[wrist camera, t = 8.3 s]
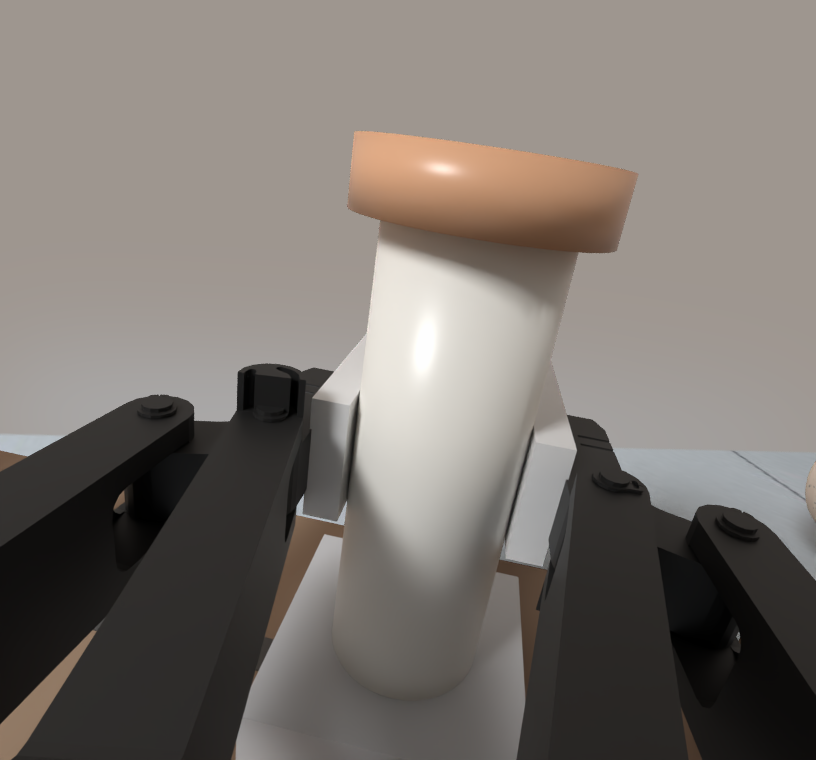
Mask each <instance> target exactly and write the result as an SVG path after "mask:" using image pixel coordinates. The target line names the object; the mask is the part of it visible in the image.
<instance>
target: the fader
mask: <svg viewBox="0 0 816 760" xmlns="http://www.w3.org/2000/svg"><path fill="white" fill-rule="evenodd" d="M637 177H638V174H637V173H635V172H632V171H627V170H623V169H619V168H614V167H609V166H604V165H600V164H594V163H589V162H583V161H578V160H572V159H566V158H560V157H554V156H549V155H542V154H536V153H530V152H524V151H517V150H511V149H504V148H498V147H490V146H483V145H477V144H470V143H463V142H456V141H448V140H441V139H433V138H425V137H417V136H409V135H400V134H390V133H380V132H369V131H356V132H354V141H353V151H352V162H351V173H350V183H349V194H348V204H347V207H348V209H350V210H352V211H354V212H356V213H359V214H362V215H364V216H368V217H371V218H375V219H378V220H380V227H379V236H378V245H377V253H376V261H375V270H374V278H373V287H372V295H371V303H370V312H369V321H368V329H367V337H366V346H365V354H364V363H363V371H362V380H361V388H360V397H359V405H358V414H357V422H356V431H355V439H354V448H353V456H352V465H351V473H350V482H349V490H348V499H347V507H346V516H345V524H344V533H343V538H339V537H335V536H330V535H326V534H324V536H323V538H322V540H321V542H320V544H319V546H318V548H317V550H316V552H315V555H314V557H313V559H312V561H311V563H310V565H309V567H308V569H307V571H306V573H305V575H304V577H303V580H302V582H301V584H300V586H299V588H298V590H297V592H296V594H295V596H294V598H293V600H292V602H291V605H290V607H289V609H288V611H287V613H286V615H285V617H284V619H283V621H282V623H281V625H280V627H279V630H278V632H277V634H276V636H275V638H274V640H273V642H272V644H271V646H270V648H269V650H268V652H267V655H266V657H265V659H264V661H263V663H262V665H261V667H260V669H259V671H258V673H257V675H256V677H255V679H254V682H253V684H252V686H251V688H250V692H249V696H248V699H247V703H246V707H245V710H244V714H243V718H242V721H241V725H240V729H239V732H238V736H237V740H236V760H516V759H517V752H518V746H519V740H520V733H521V727H522V721H523V714H524V708H525V685H524V667H523V650H522V632H521V614H520V596H519V579H518V577H516V576H512V575H507V574H502V573H498V572H496V570H497V567H498V563H499V559H500V555H501V551H502V547H503V543H504V539H505V535H506V531H507V527H508V523H509V519H510V515H511V512H512V508H513V504H514V500H515V496H516V492H517V488H518V484H519V481H520V477H521V473H522V469H523V465H524V461H525V457H526V453H527V450H528V446H529V442H530V438H531V434H532V430H533V426H534V423H535V419H536V415H537V411H538V408H539V404H540V400H541V396H542V392H543V388H544V384H545V380H546V377H547V373H548V369H549V365H550V361H551V357H552V353H553V349H554V345H555V342H556V337H557V334H558V330H559V326H560V322H561V318H562V314H563V311H564V307H565V303H566V299H567V295H568V291H569V287H570V283H571V280H572V276H573V272H574V268H575V264H576V260H577V256H578V252H582V253H610V252H615V251H617V247H618V244H619V241H620V237H621V234H622V230H623V226H624V223H625V219H626V216H627V213H628V209H629V205H630V202H631V198H632V195H633V191H634V188H635V184H636V181H637Z"/></svg>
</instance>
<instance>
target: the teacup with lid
mask: <svg viewBox="0 0 816 760" xmlns="http://www.w3.org/2000/svg"><path fill="white" fill-rule="evenodd" d="M805 496H806V503H807V507H808V510H809V512H810V514H811V516H812V518H813V519H814V521H815V522H816V461H815V463H814V465H813V466H812V468H811V470H810V472H809V475H808V478H807V483H806V490H805Z"/></svg>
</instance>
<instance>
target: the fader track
mask: <svg viewBox="0 0 816 760" xmlns="http://www.w3.org/2000/svg"><path fill="white" fill-rule="evenodd" d="M26 457H27V456H22V455H18V454H13V453H9V452H4V451H0V472H1V471H2V470H4V469H6V468H8V467H10V466H12V465H13V464H15V463H17V462H19V461H21V460H23V459H24V458H26ZM124 502H125V497H124V491H123V492H122V493H121V494H120V495H119V497H118V499H117V501H116V503H115V505H114V509H116V508H117V507H119V506H120V505H121V504H122V503H124ZM343 533H344V526H343V525H338V524H334V523H329V522H325V521H320V520H316V519H311V518H306V517H302V516H297V515H296V520H295V527H294V531H293V535H292V538H291V542H290V546H289V549H288V553H287V557H286V560H285V564H284V567H283V571H282V575H281V578H280V582H279V586H278V589H277V593H276V597H275V600H274V604H273V608H272V611H271V615H270V619H269V622H268V626H267V630H266V633H265V637H264V641H263V644H262V648H261V652H260V655H259V659H258V663H257V666H256V670H255V674H254V677H253V681H252V684H253V682H254V679H255V677H256V675H257V673H258V671H259V669H260V667H261V665H262V663H263V661H264V659H265V657H266V655H267V652H268V650H269V648H270V646H271V644H272V642H273V640H274V638H275V636H276V634H277V632H278V630H279V627H280V625H281V623H282V621H283V619H284V617H285V615H286V613H287V611H288V609H289V607H290V605H291V602H292V600H293V598H294V596H295V594H296V592H297V590H298V588H299V586H300V584H301V582H302V580H303V577H304V575H305V573H306V571H307V569H308V567H309V565H310V563H311V561H312V559H313V557H314V555H315V552H316V550H317V548H318V546H319V544H320V542H321V540H322V538H323V536H324V534H326V535H330V536H335V537H339V538H343ZM496 572H498V573H502V574H507V575H512V576H516V577H518V579H519V596H520V614H521V632H522V650H523V667H524V685H525V702H526V695H527V689H528V682H529V676H530V670H531V663H532V657H533V651H534V644H535V638H536V631H537V625H538V619H539V612H540V611H538V610H536V607H537V603H538V600H539V597H540V593H541V590H542V587H543V583H544V580H545V577H546V574H547V570H545V569H540V568H536V567H531V566H526V565H522V564H517V563H513V562H508V561H503V560H499V563H498V567H497V570H496ZM104 619H105V618H104ZM104 619H103V620H102V621H101V622H100V623H99V624H98V625H97V626H96V627H95V628H94V629H93V630H92V631H91V632H90V633H89V634H88V635H87V636H86V637H85V638H84V639H83V641H82V642H81V643H80V644H79V645H78V646H77V647H76V648H75V649H74V650H73V651H72V652H71V653H70V654H69V655H68V656H67V657H66V658H65V659H64V660H63V661H62V662H61V663H60V664H59V665H58V666H57V667H56V668H55V669H54V670H53V671H52V672H51V673H50V674H49V675H48V676H47V677H46V678H45V679H44V680H43V681H42V682H41V683H40V684H39V685H38V686H37V687H36V688H35V689H34V690H33V691H32V693H31V694H30V695H29V696H28V697H27V698H26V699H25V700H24V701H23V702H22V703H21V704H20V705H19V706H18V707H17V708H16V709H15V710H14V711H13V712H12V713H11V714H10V715H9V716H8V717H7V718H6V719H5V720H4V721H3V722H2V723H1V724H0V760H11V759H12V758H14V757H15V756H16V755H17V754H18V752H19V751H20V750H21V749H22V747H23V746H24V745H25V743H26V742H27V740H28V739H29V737H30V736H31V734H32V733H33V731H34V729H35V728H36V726H37V725H38V723H39V722H40V720H41V718H42V717H43V715H44V714H45V712H46V710H47V709H48V707H49V706H50V704H51V703H52V701H53V699H54V698H55V696H56V695H57V693H58V692H59V690H60V688H61V687H62V685H63V684H64V682H65V681H66V679H67V677H68V676H69V674H70V673H71V671H72V669H73V668H74V666H75V665H76V663H77V662H78V660H79V658H80V657H81V655H82V654H83V652H84V651H85V649H86V647H87V646H88V644H89V643H90V641H91V639H92V638H93V636H94V635H95V633H96V632H97V630H98V628H99V627H100V625H101V624H102V622H103V621H104ZM739 643H740V645H741V638H740V639H739ZM251 686H252V685H251ZM681 711H682V708H681ZM682 718H683V725H684V732H685V739H686V745H687V752H688V759H689V760H702V758H701V755H700V753H699V750H698V748H697V745H696V743H695V740H694V738H693V736H692V733H691V731H690V728H689V726H688V723H687V721H686V718H685V716H684V713H683V711H682ZM231 760H236V743H235V747H234V751H233V754H232V758H231Z"/></svg>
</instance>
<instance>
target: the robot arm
mask: <svg viewBox="0 0 816 760" xmlns="http://www.w3.org/2000/svg"><path fill="white" fill-rule="evenodd" d="M366 337H367V333H366V335H365V336H364V337H363V338H362V339H361V341H360V342H359V343H358V344H357V345H356V346H355V348H354V349H353V350H352V351H351V352H350V354H349V355H348V356H347V357H346V358H345V360H344V361H343V362H342V363H341V364H340V365H339V367H338V368H337V369H336V370H335V371H328V370H323V369H318V368H311V369H308V370H305V371H303V372H301V371H300V370H298V369H295V368H293V367H290V366H285V365H280V364H257V365H252V366H248V367H244V368H243V369H241V370H240V371H238V384H237V385H238V386H237V411H236V412H235V414H234V415H233V417H232V419H231V420H230V421H229V422H211V421H194V406H193V405H192V404H191V403H190V402H189V401H187V400H184V399H181V398H178V397H171V396H169V395H160V396H158V395H150V396H148V397H144V398H139V399H136V400H133V401H130V402H128V403H126V404H124V405H122V406H120V407H118V408H116V409H115V410H113V411H111V412H109V413H107V414H105V415H104V416H102V417H100V418H98V419H96V420H95V421H93V422H91V423H89V424H87V425H85V426H83V427H81V428H80V429H78V430H76V431H74V432H72V433H70V434H69V435H67V436H65V437H63V438H61V439H59V440H58V441H56V442H54V443H52V444H50V445H48V446H47V447H45V448H43V449H41V450H39V451H37V452H35V453H34V454H32V455H30V456H28V457H26V458H24V459H23V460H21V461H19V462H17V463H15V464H13V465H12V466H10V467H8V468H6V469H4V470H2V471H1V472H0V724H1V723H2V722H3V721H4V720H5V719H6V718H7V717H8V716H9V715H10V714H11V713H12V712H13V711H14V710H15V709H16V708H17V707H18V706H19V705H20V704H21V703H22V702H23V701H24V700H25V699H26V698H27V697H28V696H29V695H30V694H31V693H32V691H33V690H34V689H35V688H36V687H37V686H38V685H39V684H40V683H41V682H42V681H43V680H44V679H45V678H46V677H47V676H48V675H49V674H50V673H51V672H52V671H53V670H54V669H55V668H56V667H57V666H58V665H59V664H60V663H61V662H62V661H63V660H64V659H65V658H66V657H67V656H68V655H69V654H70V653H71V652H72V651H73V650H74V649H75V648H76V647H77V646H78V645H79V644H80V643H81V642H82V641H83V639H84V638H85V637H86V636H87V635H88V634H89V633H90V632H91V631H92V630H93V629H94V628H95V627H96V626H97V625H98V624H99V623H100V622H101V621H102V620H103V619H104V618H105V619H104V621H103V622H102V624H101V625H100V627H99V628H98V630H97V632H96V633H95V635H94V636H93V638H92V639H91V641H90V643H89V644H88V646H87V647H86V649H85V651H84V652H83V654H82V655H81V657H80V658H79V660H78V662H77V663H76V665H75V666H74V668H73V669H72V671H71V673H70V674H69V676H68V677H67V679H66V681H65V682H64V684H63V685H62V687H61V688H60V690H59V692H58V693H57V695H56V696H55V698H54V699H53V701H52V703H51V704H50V706H49V707H48V709H47V710H46V712H45V714H44V715H43V717H42V718H41V720H40V722H39V723H38V725H37V726H36V728H35V729H34V731H33V733H32V734H31V736H30V737H29V739H28V740H27V742H26V743H25V745H24V746H23V747H22V749H21V750H20V751H19V752H18V754H17V755H16V756H15V757H14V758H12V759H11V760H231V758H232V754H233V751H234V747H235V743H236V740H237V736H238V732H239V729H240V725H241V721H242V718H243V714H244V710H245V707H246V703H247V699H248V696H249V692H250V688H251V685H252V681H253V677H254V674H255V670H256V666H257V663H258V659H259V655H260V652H261V648H262V644H263V641H264V637H265V633H266V630H267V626H268V622H269V619H270V615H271V611H272V608H273V604H274V600H275V597H276V593H277V589H278V586H279V582H280V578H281V575H282V571H283V567H284V564H285V560H286V557H287V553H288V549H289V546H290V542H291V538H292V535H293V531H294V527H295V520H296V507H297V504H298V503H299V501H300V499H301V498H302V496H303V494H304V503H303V514H305V515H310V516H314V517H319V518H323V519H328V520H332V521H337V520H338V518H339V516H340V514H341V512H342V510H343V507H344V505H345V503H346V501H347V499H348V490H349V482H350V473H351V465H352V456H353V448H354V439H355V431H356V422H357V414H358V405H359V397H360V388H361V380H362V371H363V363H364V354H365V346H366ZM123 491H124V497H125V502H124V503H122V504H121V505H120V506H119V507H117V508H116V509H114V505H115V503H116V501H117V499H118V497H119V495H120V494H121V493H122V492H123ZM548 547H549V548H550V555H551V560H550V564H549V567H548V570H547V574H546V577H545V580H544V583H543V587H542V590H541V593H540V597H539V600H538V603H537V607H536V610H538V611H540V612H539V619H538V625H537V631H536V638H535V644H534V651H533V657H532V663H531V670H530V676H529V682H528V689H527V695H526V702H525V708H524V714H523V721H522V727H521V733H520V740H519V746H518V752H517V759H516V760H689V759H688V752H687V745H686V739H685V732H684V725H683V718H682V711H683V713H684V716H685V718H686V721H687V723H688V726H689V728H690V731H691V733H692V736H693V738H694V740H695V743H696V745H697V748H698V750H699V753H700V755H701V758H702V760H816V581H815V579H814V578H813V577H812V576H811V575H810V574H809V572H808V571H807V570H806V569H805V568H804V567H803V566H802V564H801V563H800V562H799V561H798V560H797V559H796V557H795V556H794V555H793V554H792V553H791V552H790V550H789V549H788V548H787V547H786V546H785V545H784V543H783V542H782V541H781V540H780V539H779V538H778V536H777V535H776V534H775V533H774V532H772V531H771V530H770V529H769V528H768V527H767V526H766V525H764V524H763V523H761V522H760V521H758V520H756V519H755V518H754V517H753V516H751V515H750V514H747V513H745V512H743V513H742V512H741V510H738V509H735V508H728V507H724V506H720V505H705V506H701V507H699V508H698V510H697V511H696V513H695V516H694V518H693V520H692V522H691V521H689V520H686V519H683V518H681V517H678V516H675V515H673V514H670V513H667V512H665V511H663V510H660V509H658V508H656V507H654V506H652V505H651V501H650V495H649V492H648V490H647V488H646V486H645V485H644V484H643V483H642V482H640V481H639V480H638V479H637V478H635V477H634V476H632V475H630V474H628V473H627V472H624V471H622V470H621V467H620V465H619V463H618V460H617V458H616V456H615V453H614V452H613V449H612V446H611V444H610V443H609V439H608V437H607V434H606V432H605V430H604V429H603V428H601V427H600V426H599V425H598V424H597V423H596V422H594V421H593V420H591V419H585V418H580V417H575V416H570V415H567V414H566V411H565V407H564V404H563V400H562V397H561V393H560V390H559V386H558V383H557V380H556V376H555V373H554V370H553V366H552V362H551V361H550V365H549V369H548V373H547V377H546V380H545V384H544V388H543V392H542V396H541V400H540V404H539V408H538V411H537V415H536V419H535V423H534V426H533V430H532V434H531V438H530V442H529V446H528V450H527V453H526V457H525V461H524V465H523V469H522V473H521V477H520V481H519V484H518V488H517V492H516V496H515V500H514V504H513V508H512V512H511V515H510V519H509V523H508V527H507V531H506V535H505V554H506V559H510V560H514V561H519V562H524V563H528V564H533V565H537V566H542V567H543V563H544V560H545V557H546V553H547V550H548ZM738 632H740V638H741V645H740V643H739V641H738V640H737V638H736V636H737V634H738ZM681 708H682V711H681Z"/></svg>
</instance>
